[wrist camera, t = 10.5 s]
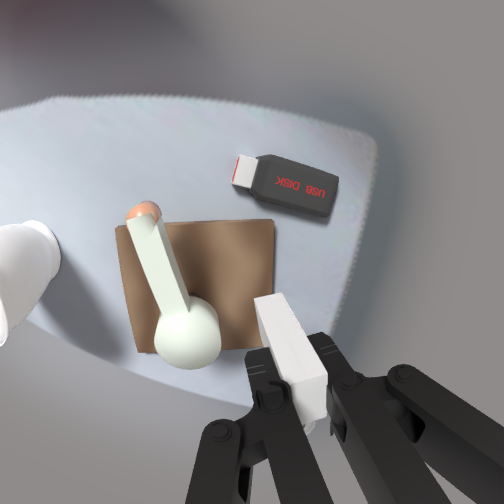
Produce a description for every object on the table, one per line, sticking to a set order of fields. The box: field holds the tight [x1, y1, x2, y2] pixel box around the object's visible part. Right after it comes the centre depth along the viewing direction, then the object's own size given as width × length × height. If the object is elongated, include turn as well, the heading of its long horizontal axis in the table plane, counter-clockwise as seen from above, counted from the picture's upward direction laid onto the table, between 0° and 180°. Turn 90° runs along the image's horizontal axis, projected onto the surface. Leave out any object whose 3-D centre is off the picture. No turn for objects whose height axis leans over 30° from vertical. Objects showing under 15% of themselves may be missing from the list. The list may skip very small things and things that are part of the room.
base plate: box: [115, 219, 274, 353], centre depth 33 cm, size 18×17×2 cm
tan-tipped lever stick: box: [126, 201, 221, 370], centre depth 25 cm, size 16×6×4 cm, turn 14°
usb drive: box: [231, 155, 339, 218], centre depth 31 cm, size 5×12×3 cm, turn 75°
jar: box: [0, 221, 61, 347], centre depth 22 cm, size 11×10×15 cm
